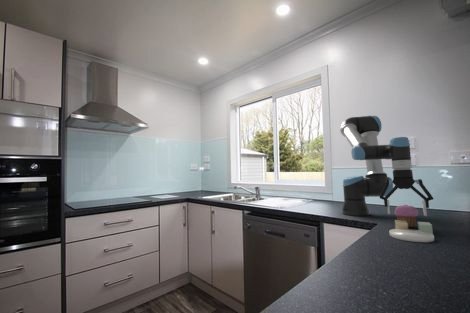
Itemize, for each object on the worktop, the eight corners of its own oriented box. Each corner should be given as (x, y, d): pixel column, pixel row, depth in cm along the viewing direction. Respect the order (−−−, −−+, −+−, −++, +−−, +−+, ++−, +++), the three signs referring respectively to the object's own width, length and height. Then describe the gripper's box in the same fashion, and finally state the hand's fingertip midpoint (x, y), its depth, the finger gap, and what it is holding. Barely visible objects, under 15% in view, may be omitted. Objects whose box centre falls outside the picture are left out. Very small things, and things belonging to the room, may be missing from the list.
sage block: (418, 230, 98) (417, 221, 98) (430, 231, 95) (429, 222, 96) (420, 234, 93) (419, 224, 93) (433, 235, 90) (432, 225, 91)
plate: (388, 231, 98) (388, 227, 98) (430, 234, 91) (429, 230, 91) (390, 239, 86) (390, 235, 86) (438, 244, 79) (438, 239, 79)
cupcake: (424, 227, 102) (422, 205, 103) (410, 229, 100) (408, 206, 100) (404, 223, 111) (402, 203, 111) (391, 225, 108) (389, 204, 109)
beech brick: (395, 229, 102) (394, 220, 102) (406, 229, 100) (405, 220, 100) (396, 232, 97) (396, 222, 97) (408, 233, 95) (407, 223, 95)
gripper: (371, 170, 111) (375, 214, 108) (438, 167, 98) (444, 217, 95) (371, 170, 117) (375, 212, 115) (434, 168, 104) (439, 215, 102)
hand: (406, 214), depth 105 cm, fingers open, 13 cm apart
